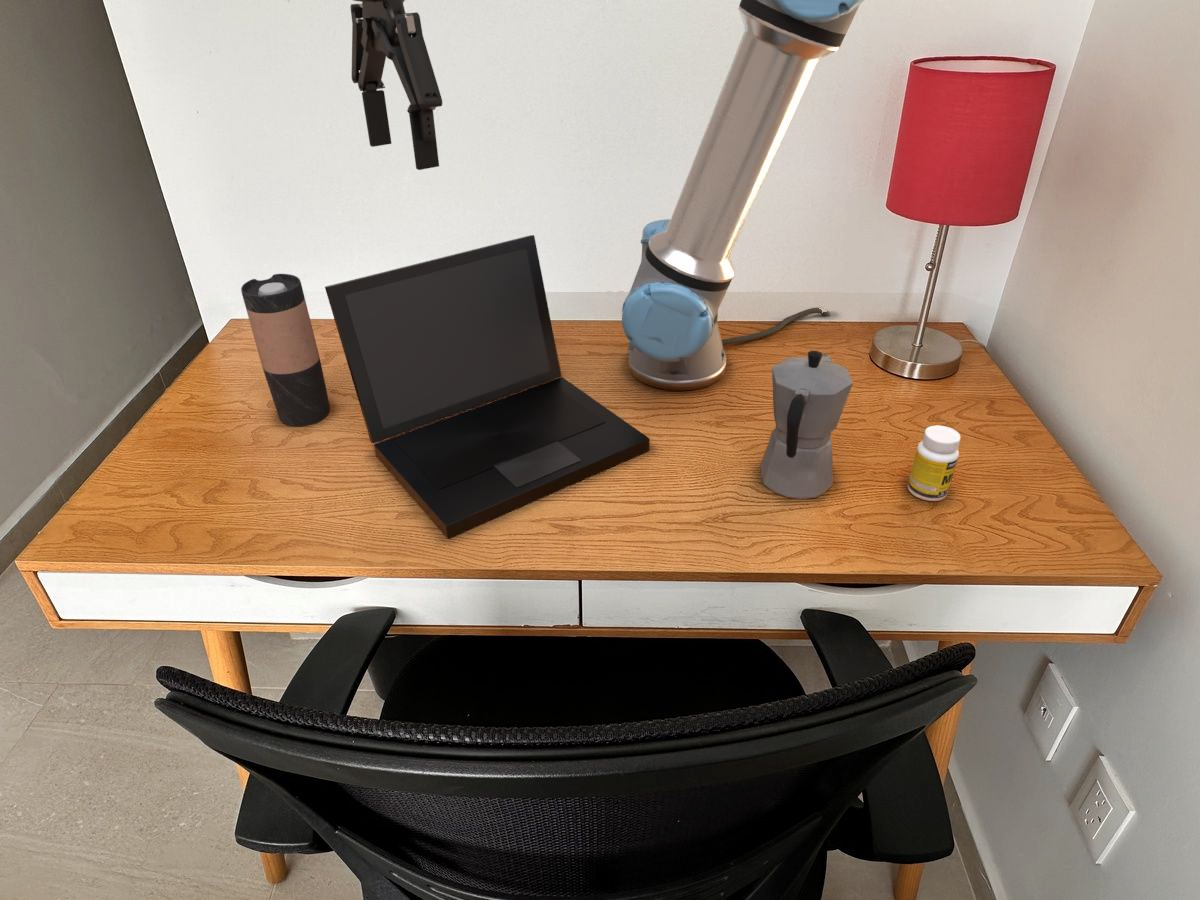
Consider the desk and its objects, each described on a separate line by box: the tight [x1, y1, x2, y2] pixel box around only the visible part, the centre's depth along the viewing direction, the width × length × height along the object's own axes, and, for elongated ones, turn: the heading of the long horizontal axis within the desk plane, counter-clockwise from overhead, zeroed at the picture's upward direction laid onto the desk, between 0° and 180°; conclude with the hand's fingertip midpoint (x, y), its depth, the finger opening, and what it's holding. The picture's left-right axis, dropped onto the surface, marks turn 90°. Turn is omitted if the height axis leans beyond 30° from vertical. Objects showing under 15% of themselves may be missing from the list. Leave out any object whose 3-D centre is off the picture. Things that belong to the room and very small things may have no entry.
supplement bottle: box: [907, 424, 962, 502], centre depth 96 cm, size 5×5×8 cm
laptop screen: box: [324, 234, 562, 445], centre depth 109 cm, size 21×30×1 cm
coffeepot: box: [759, 350, 854, 500], centre depth 95 cm, size 15×9×18 cm, turn 155°
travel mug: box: [240, 273, 331, 428], centre depth 110 cm, size 8×8×20 cm
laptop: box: [373, 376, 651, 539], centre depth 106 cm, size 21×30×2 cm
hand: (403, 156), depth 101 cm, fingers open, 13 cm apart
